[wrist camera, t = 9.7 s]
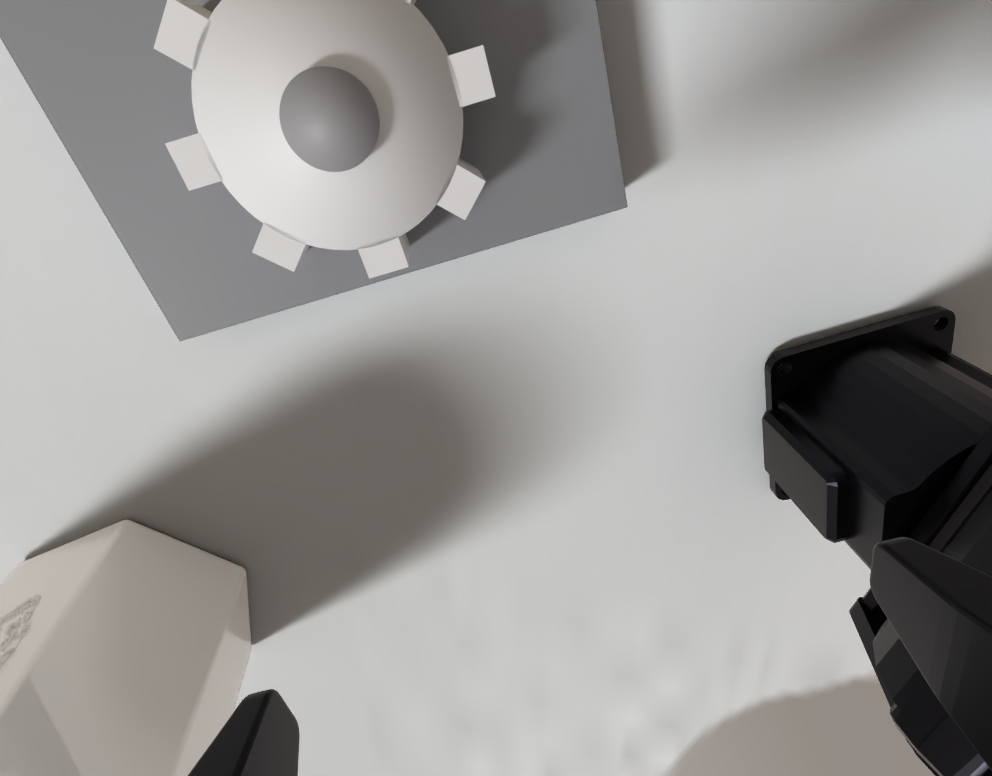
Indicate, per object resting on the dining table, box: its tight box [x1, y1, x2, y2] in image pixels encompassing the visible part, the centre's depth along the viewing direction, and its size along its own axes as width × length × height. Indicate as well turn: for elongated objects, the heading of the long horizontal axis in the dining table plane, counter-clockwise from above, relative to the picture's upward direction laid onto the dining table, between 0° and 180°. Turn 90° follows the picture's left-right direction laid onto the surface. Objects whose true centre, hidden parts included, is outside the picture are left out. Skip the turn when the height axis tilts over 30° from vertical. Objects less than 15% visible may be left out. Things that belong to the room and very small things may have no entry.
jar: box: [0, 520, 252, 776], centre depth 18 cm, size 9×8×12 cm
